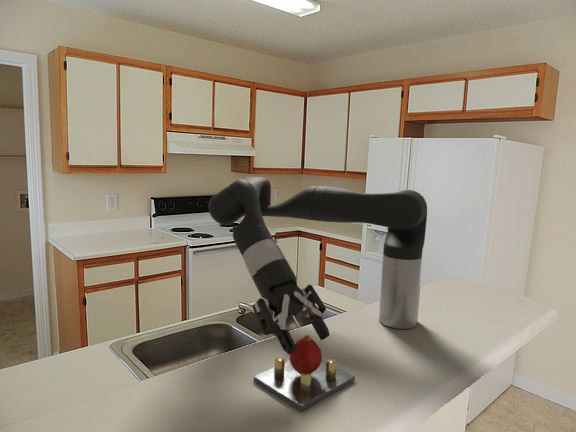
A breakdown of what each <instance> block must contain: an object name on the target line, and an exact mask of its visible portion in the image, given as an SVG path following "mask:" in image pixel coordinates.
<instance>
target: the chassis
mask: <svg viewBox="0 0 576 432" xmlns="http://www.w3.org/2000/svg"><path fill="white" fill-rule="evenodd" d="M355 378H356V376H355V375H353V374H351V373H349V372H348V371H345V370H343V369H341V368H339V367H337V361H336V360H335V359H327V360H326V361H325V360H323V359H322V361H321V365H320V366H319V367H318V369H317V370H316V371H314V372H312V373H310V372H307V371H305V372H302V373H301V374H300V373H298V372H297V371H296V370H295V369H294V368H293V367H292V365H291V363H290V360H288V361H286V362H285V358H283V357H280V356H279V357H276V358H274V367H272V368H270V369H268V370H265V371H263V372H261V373H258V374H255V375H254V376H253V382H254V383H255V384H257V385H259V386H260V387H262V388H263V389H265V390H267V392H268V393H269V392H270V393H271V394H272V395H274V396H276V397H277V398H279V399H280V400H282V399H283V400H284V402H286V403H287V404H288V403H289V404H288V405H290V406H291V405H292V407H293V406H294V407H295V408H294V407H293V408H294V409H296V410H297V409H298V411H299V412H301V413H302V412H305V411H306V410H307V409H309V408H311V407H312V406H315V405H316V404H318V403H320V402H322V401H324V400H325V399H327V398H329V397H330V396H332V395H333V394H335V393H337V392H339V391H341V390H342V389H344V388H345V387H347V386H350V385H351V384H353V383H354V382H355V381H356V379H355ZM283 400H282V401H283Z"/></svg>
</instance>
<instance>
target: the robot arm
mask: <svg viewBox="0 0 576 432" xmlns="http://www.w3.org/2000/svg"><path fill="white" fill-rule="evenodd" d="M271 196H272V185H271V181H270V180H269V179H268V178H265V177H261V176H246V177H243V178H240V179H236V180H234V181H233V182H232V183H230V184H229V185H228V186H227V185H226V187H225V188H223V189H222V190H220V191H219V192H217V193H216V194H214V195H212V197H211V198H210V199H209V201H208V212H209V215H210V217H211V218H212V219H213V220H214V221H215V222H217V224H219V225H223V226H230V225H232V224H234V223H235V222H236V221H237V222H238V220H240V219H241V218H242V220H241V221H240V222H239V224H238V225H236V227H235V228H234V230H233V233H232V238H233V241H234V243H235V245H236V247H237V249H238V250H239V253H240V254H241V257H242V259H243V261H244V264H245V266H246V269H247V271H248V273H249V275H250V277H251V280H252V282H253V283H254V285H255V287H256V289H257V291H258V293H259V294H260V298H259V299H258V300H257V301H255V303H254V304H253V305H252V310H253V313H254V314H255V317H256V319H257V321H258V323H259V326H260V328H261V331H262V333H263V334H264V335H265V336H269V335H273V336H275V337H277V340H278V342H279V344H280V346H281V348H282V350H283V351H284V352H285V353H286V354H288V355H290V354H291V353H293V352H294V351H295V350H297V347H296V345H295V343H296V342H295V341H294V339H293V336H291V333H290V331H289V329H286V324H287V323H286V322H287V319H288V318H290V317H294V316H297V315H298V316H299V317H301V318H305V319H307V320H309V322H311V325H312V327H313V329H314V331H315V332H316V334H317V336H318V337H319V339H320V340H321V341H323V340H326V338H328V337H330V330H329V328H328V326H327V324H326V323H325V320H324V319H323V317H322V315H323V314H324V312H326V311H327V308H326V305H325V304H324V303H323V301H322V299H321V297H320V296H319V294H318V293H317V291H316V289H315V288H314V286H313V285H312V284H307V286H305V288H300V287H299V286H298V284H297V276H296V274H295V273H294V271H293V269H292V268H291V266H290V263H289V262H288V260H287V259H286V257H285V255H284V253H283V251H282V249H281V248H280V247H279V246H278V244H277V242H276V241H275V240H274V238H273V236H272V234H271V232H270V231H269V228H268V227H267V225H266V222H265V220H264V217H271V218H272V217H273V218H274V217H275V218H292V219H300V220H301V219H302V220H306V221H307V220H308V221H315V222H316V221H317V222H327V223H345V224H346V223H348V224H349V223H352V224H353V223H361V224H370V225H375V226H380V227H385V228H387V231H386V233H387V234H386V238H385V241H384V243H383V252H382V253H383V254H382V267H381V283H380V299H379V314H378V321H379V323H380V324H383V326H386V327H388V328H393V329H401V330H408V329H409V330H410V329H413V328H415V327H416V326H417V322H418V320H419V319H418V318H419V306H420V296H421V295H420V293H421V292H420V291H421V276H422V275H421V272H422V258H423V250H424V245H425V241H426V240H425V239H426V229H427V220H428V204H427V201H426V198H424V195H422V194H421V193H419V192H417V191H416V190H412V189H411V190H410V189H404V190H400V191H395V192H384V193H383V192H382V193H381V192H380V193H378V192H377V193H368V192H367V193H365V192H359V191H354V190H351V189H347V188H343V187H337V186H327V185H326V186H325V185H324V186H321V185H311V186H308V187H306V188H304V189H302V190H300V191H298V192H297V193H296V194H294V195H293V196H291V197H290V198H288V199H287V200H284V201H282V202H280V203H277V204H273V205H272V204H271V201H272V198H271ZM270 310H271V311H272V313H271V312H270Z"/></svg>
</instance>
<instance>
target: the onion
mask: <svg viewBox="0 0 576 432" xmlns="http://www.w3.org/2000/svg"><path fill="white" fill-rule="evenodd" d="M294 343H295V345H296V347H297V350H295V351H294V352H293V353H291V354H289V361H290V363H291V365H292V367H293V368H294V369H295V370H296V371H297V372H298V373H300V374H301V373H302V372H305V371H307V372H310V373H312V372H314V371H316V370H317V369H318V367H319V366H320V365H321V361H322V360H323V355H322V349H321V347H320V346H319V344H318V343H317V342H316V341H315V340H314V339H312V338H311V335H310V334H306V335H305V336H303V337H302V338H300V339H298V340H297V341H296V342H294Z"/></svg>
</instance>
